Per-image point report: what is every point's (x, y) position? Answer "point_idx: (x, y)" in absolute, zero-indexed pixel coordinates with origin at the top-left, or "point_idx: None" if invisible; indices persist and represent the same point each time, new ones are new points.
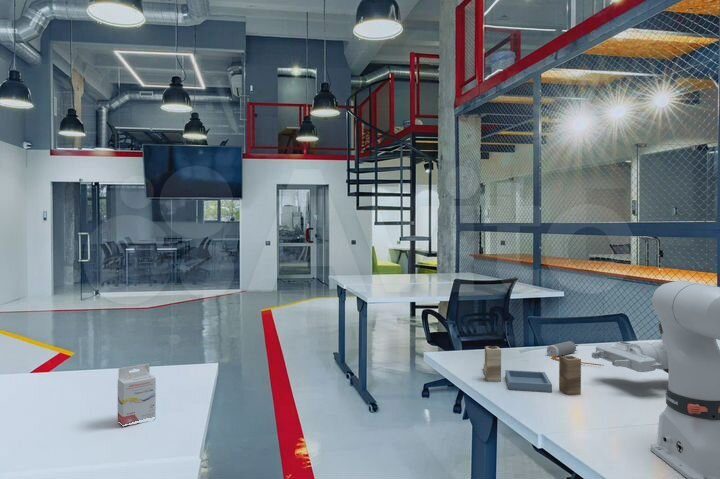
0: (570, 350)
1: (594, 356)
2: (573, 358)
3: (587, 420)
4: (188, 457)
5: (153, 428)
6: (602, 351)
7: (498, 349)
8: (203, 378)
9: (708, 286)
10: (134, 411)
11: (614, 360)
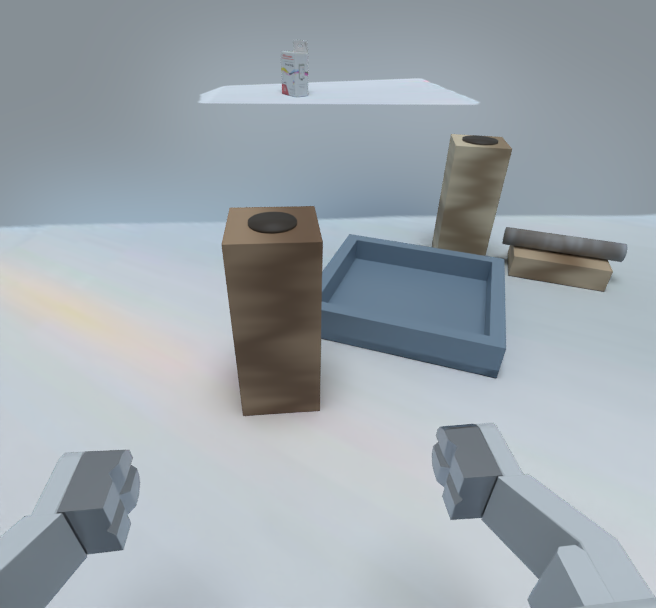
0: None
1: (437, 444)
2: (249, 225)
3: (7, 311)
4: (205, 102)
5: (275, 97)
6: (575, 574)
7: (454, 143)
8: (419, 103)
9: None
10: (286, 81)
11: (95, 454)
